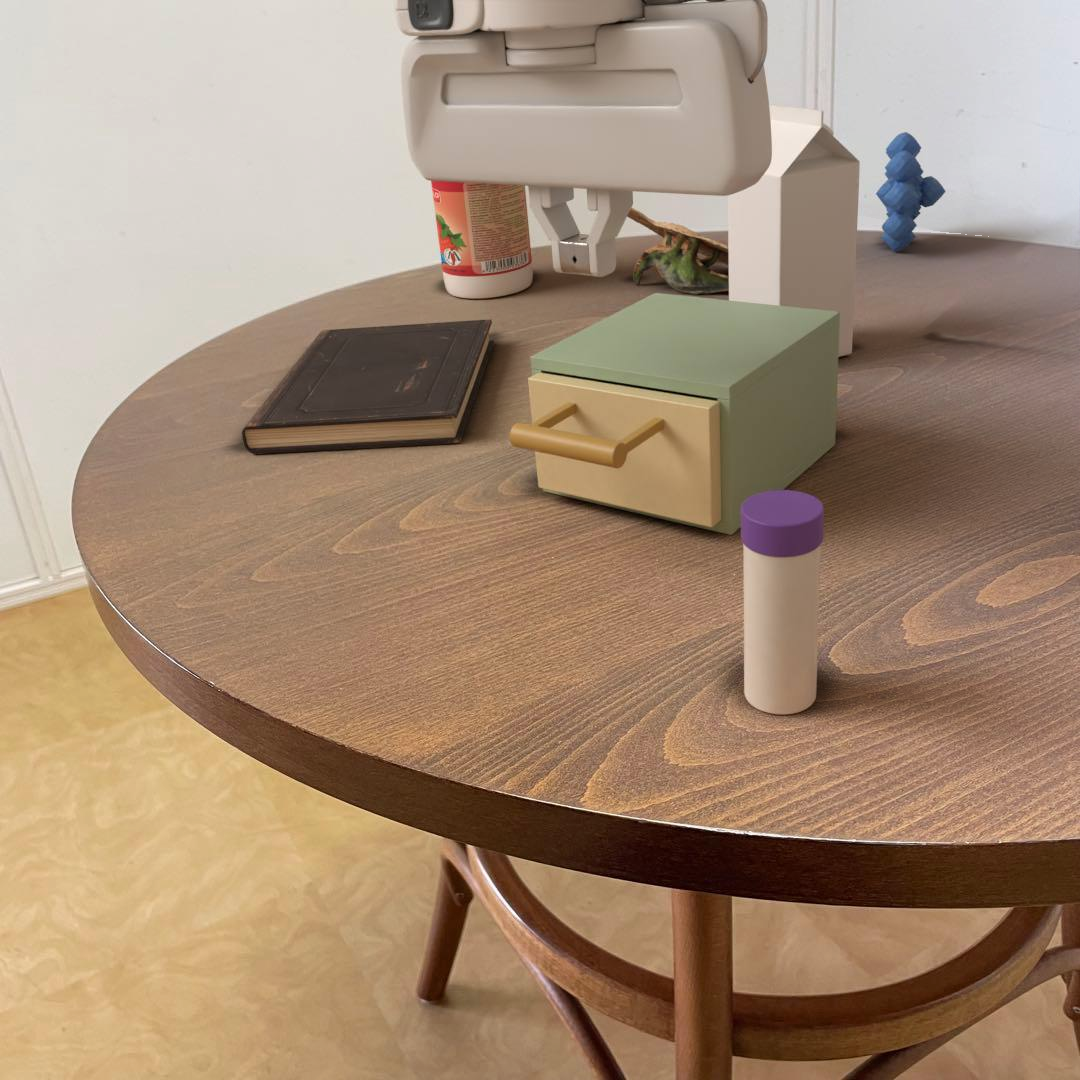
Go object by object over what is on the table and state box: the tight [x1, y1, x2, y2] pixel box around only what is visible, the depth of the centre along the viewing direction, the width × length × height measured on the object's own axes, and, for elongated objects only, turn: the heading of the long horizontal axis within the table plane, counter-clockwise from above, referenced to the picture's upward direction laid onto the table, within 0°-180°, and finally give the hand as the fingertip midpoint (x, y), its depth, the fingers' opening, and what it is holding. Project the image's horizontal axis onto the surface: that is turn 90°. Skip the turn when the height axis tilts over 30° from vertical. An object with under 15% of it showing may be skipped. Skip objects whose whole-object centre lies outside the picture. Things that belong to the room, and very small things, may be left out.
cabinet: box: [529, 292, 840, 536], centre depth 72 cm, size 15×14×9 cm
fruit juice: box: [430, 181, 534, 300], centre depth 112 cm, size 9×9×28 cm
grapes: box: [875, 131, 946, 253], centre depth 114 cm, size 12×7×12 cm, turn 164°
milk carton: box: [727, 103, 861, 358], centre depth 88 cm, size 7×7×19 cm
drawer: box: [509, 372, 721, 527], centre depth 69 cm, size 19×12×7 cm, turn 143°
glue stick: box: [740, 489, 825, 716], centre depth 49 cm, size 3×3×10 cm
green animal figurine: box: [626, 206, 729, 296], centre depth 112 cm, size 18×14×8 cm
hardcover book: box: [241, 318, 495, 455], centre depth 92 cm, size 16×23×2 cm
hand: (585, 272), depth 60 cm, fingers closed
